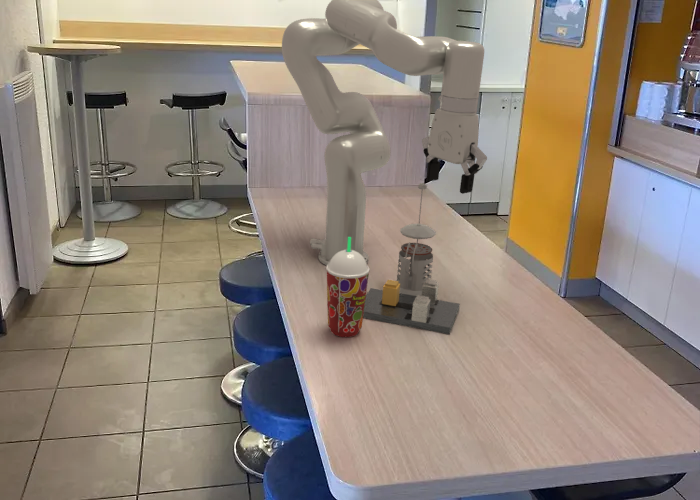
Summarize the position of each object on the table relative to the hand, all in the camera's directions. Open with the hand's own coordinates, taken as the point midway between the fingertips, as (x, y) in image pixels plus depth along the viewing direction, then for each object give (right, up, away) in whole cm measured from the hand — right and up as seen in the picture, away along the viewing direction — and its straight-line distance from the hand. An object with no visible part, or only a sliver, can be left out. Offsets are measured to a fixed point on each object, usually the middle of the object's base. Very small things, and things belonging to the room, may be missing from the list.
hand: (448, 186), depth 143 cm
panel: (-8, -27, +1) cm, 28 cm away
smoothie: (-22, -30, -8) cm, 38 cm away
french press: (-6, -23, +13) cm, 27 cm away
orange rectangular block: (-12, -25, +1) cm, 28 cm away
